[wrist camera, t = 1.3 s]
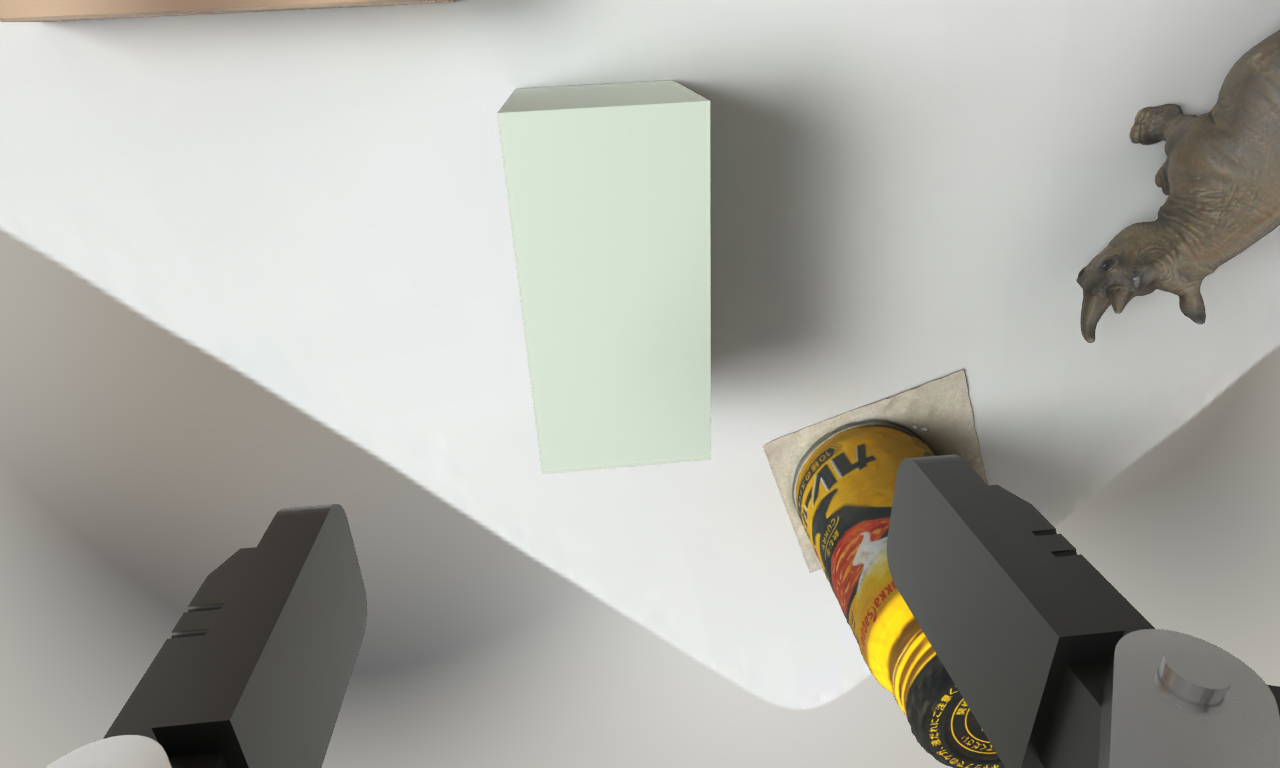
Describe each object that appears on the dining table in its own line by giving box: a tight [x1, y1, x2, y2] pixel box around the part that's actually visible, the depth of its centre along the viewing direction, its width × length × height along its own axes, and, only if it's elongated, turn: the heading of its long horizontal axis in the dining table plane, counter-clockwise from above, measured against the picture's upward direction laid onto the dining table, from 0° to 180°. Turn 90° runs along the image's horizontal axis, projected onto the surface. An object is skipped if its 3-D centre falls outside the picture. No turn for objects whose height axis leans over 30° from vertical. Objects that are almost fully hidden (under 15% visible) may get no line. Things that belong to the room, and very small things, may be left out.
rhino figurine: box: [1077, 30, 1280, 343], centre depth 23 cm, size 4×14×6 cm, turn 152°
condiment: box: [763, 369, 1005, 768], centre depth 26 cm, size 7×8×12 cm
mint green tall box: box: [497, 80, 711, 474], centre depth 23 cm, size 5×11×7 cm, turn 3°
